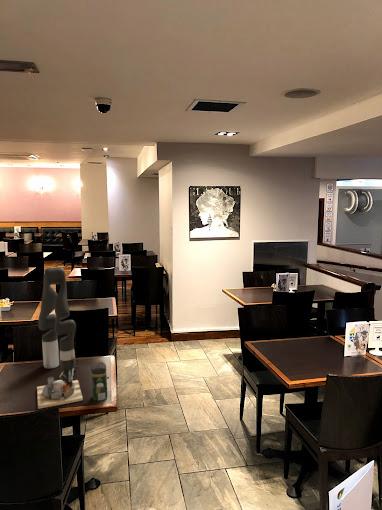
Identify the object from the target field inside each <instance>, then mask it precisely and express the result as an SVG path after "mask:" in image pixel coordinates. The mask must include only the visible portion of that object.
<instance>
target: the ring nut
mask: <svg viewBox="0 0 382 510" xmlns="http://www.w3.org/2000/svg"><path fill="white" fill-rule="evenodd" d="M55 379H56V378H55V377H54V376H49V377H48V378H47V384H45V385H46V386H45V385H43V386H44V388H43V391H42V392H43V396H44V397H46V398H48V399H60V398H61V397H64V398H65V397H67V396H69V395H71V394H73V393H74V390H75V384H74V383H73V382H72V387H71V388H70V384H68V383H66V382H65V381H64V382H65V384H63V391H61V392H52V390H53V382H55V381H56V380H55Z"/></svg>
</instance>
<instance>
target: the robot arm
mask: <svg viewBox="0 0 382 510" xmlns="http://www.w3.org/2000/svg"><path fill="white" fill-rule="evenodd" d="M52 285H60V286H59V287H60V288H59V291H58V293H57V291H56V290H55V289H54V288H53V287H52ZM67 289H68V288H67V277H66V271H65V268H63V267H49V268H45V270H44V272H43V289H42V295H41V302H40V303H41V304H40V312H39V316H38V321H37V327H38V329H39V331H40V330H41V331H47V332H46V333H44V334H43V335H42V336H41V342H42V343H41V344H42V345H41V346H42V360H43V368H45V369H54V368H57V367H59V366H60V367H61V373H60V374H58V377H57V378H59V380H62V381H65V382H66V383H68V384H70V388H71V387H72V381H74V380H73V379H75V378H76V375H77V373H78V370H79V366H77V365H76V355H75V353H76V351H75V349H74V348H75V346H74V339H75V335H76V334H75V333H76V329H77V325H76V322H75V320H73V319H67V320H66V318H68V317H69V316H70V315H71V313H70V308H69V303H68V291H67ZM53 311H54V313H53ZM64 335H65V336H64ZM58 336H64V337H61V338H60V339H59V342H58Z"/></svg>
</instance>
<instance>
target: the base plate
mask: <svg viewBox="0 0 382 510" xmlns="http://www.w3.org/2000/svg"><path fill="white" fill-rule="evenodd" d="M72 382H73V383H74V384H75V390H74V393H73V394H71V395H69V396H67V397H65V398H64V397H61V398H60V399H48V398H46V397H44V396H43V392H42V391H43V388H44V386H46V385H47V384H44V385H40V386H36V390H37V391H36V392H37V409H38V410H39V409H43V408H50V407H54V406H61V405H65V404H71V403H75V402H76V403H77V402H82V401H83V399H84V398H83V394H82V390H81V388H80V387H81V386H80V382H79V380H78V379H76V380H72ZM63 384H65V382H64V381H62V380H61V379H59V380H55V382H53V390H52V392H61V391H63Z"/></svg>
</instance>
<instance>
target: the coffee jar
mask: <svg viewBox="0 0 382 510" xmlns="http://www.w3.org/2000/svg"><path fill="white" fill-rule="evenodd" d="M90 373H91V375H90V377H91V391H92V393H91V394H92V400H94V401H97V402H100V401H101V402H102V401H104V400H106V399H108V380H107V379H108V377H107V375H108V374H107V365H106V363H105V362H103V361H96V362H94V363H93V364H91V368H90Z"/></svg>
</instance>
